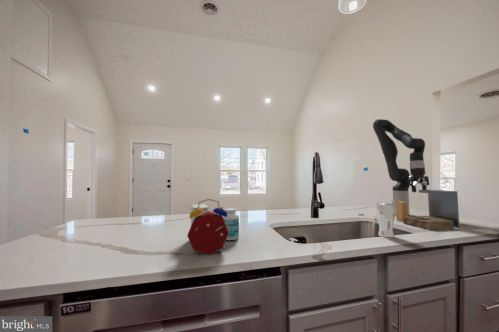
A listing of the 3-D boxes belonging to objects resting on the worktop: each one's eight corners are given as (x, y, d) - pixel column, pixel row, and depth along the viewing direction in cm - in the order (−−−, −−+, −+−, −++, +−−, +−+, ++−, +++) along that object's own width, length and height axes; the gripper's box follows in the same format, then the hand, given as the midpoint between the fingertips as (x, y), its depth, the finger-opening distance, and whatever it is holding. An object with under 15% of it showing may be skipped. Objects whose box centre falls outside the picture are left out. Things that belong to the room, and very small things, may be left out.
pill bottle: (224, 242, 86) (224, 210, 86) (220, 237, 93) (220, 208, 93) (241, 240, 88) (241, 209, 89) (236, 235, 95) (236, 207, 96)
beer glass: (375, 236, 93) (374, 203, 94) (378, 232, 98) (377, 202, 99) (394, 239, 88) (392, 205, 89) (396, 235, 93) (394, 203, 94)
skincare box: (190, 239, 90) (190, 204, 91) (204, 237, 93) (205, 204, 94) (192, 245, 82) (193, 207, 83) (208, 243, 85) (208, 206, 86)
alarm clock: (227, 247, 79) (227, 197, 80) (228, 256, 71) (228, 200, 72) (189, 250, 77) (190, 198, 78) (185, 259, 68) (186, 201, 69)
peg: (396, 220, 125) (395, 201, 125) (401, 220, 125) (401, 201, 126) (402, 221, 121) (401, 202, 121) (408, 221, 121) (407, 201, 122)
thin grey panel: (420, 222, 118) (418, 189, 119) (430, 221, 120) (429, 189, 121) (447, 228, 105) (445, 191, 106) (459, 227, 106) (457, 191, 107)
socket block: (403, 223, 116) (403, 216, 116) (425, 222, 119) (425, 215, 119) (429, 230, 102) (429, 222, 102) (453, 228, 105) (453, 220, 106)
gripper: (420, 168, 138) (422, 191, 137) (403, 168, 135) (405, 192, 134) (431, 167, 131) (434, 192, 129) (414, 167, 128) (416, 192, 126)
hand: (419, 192), depth 131 cm, fingers open, 8 cm apart
